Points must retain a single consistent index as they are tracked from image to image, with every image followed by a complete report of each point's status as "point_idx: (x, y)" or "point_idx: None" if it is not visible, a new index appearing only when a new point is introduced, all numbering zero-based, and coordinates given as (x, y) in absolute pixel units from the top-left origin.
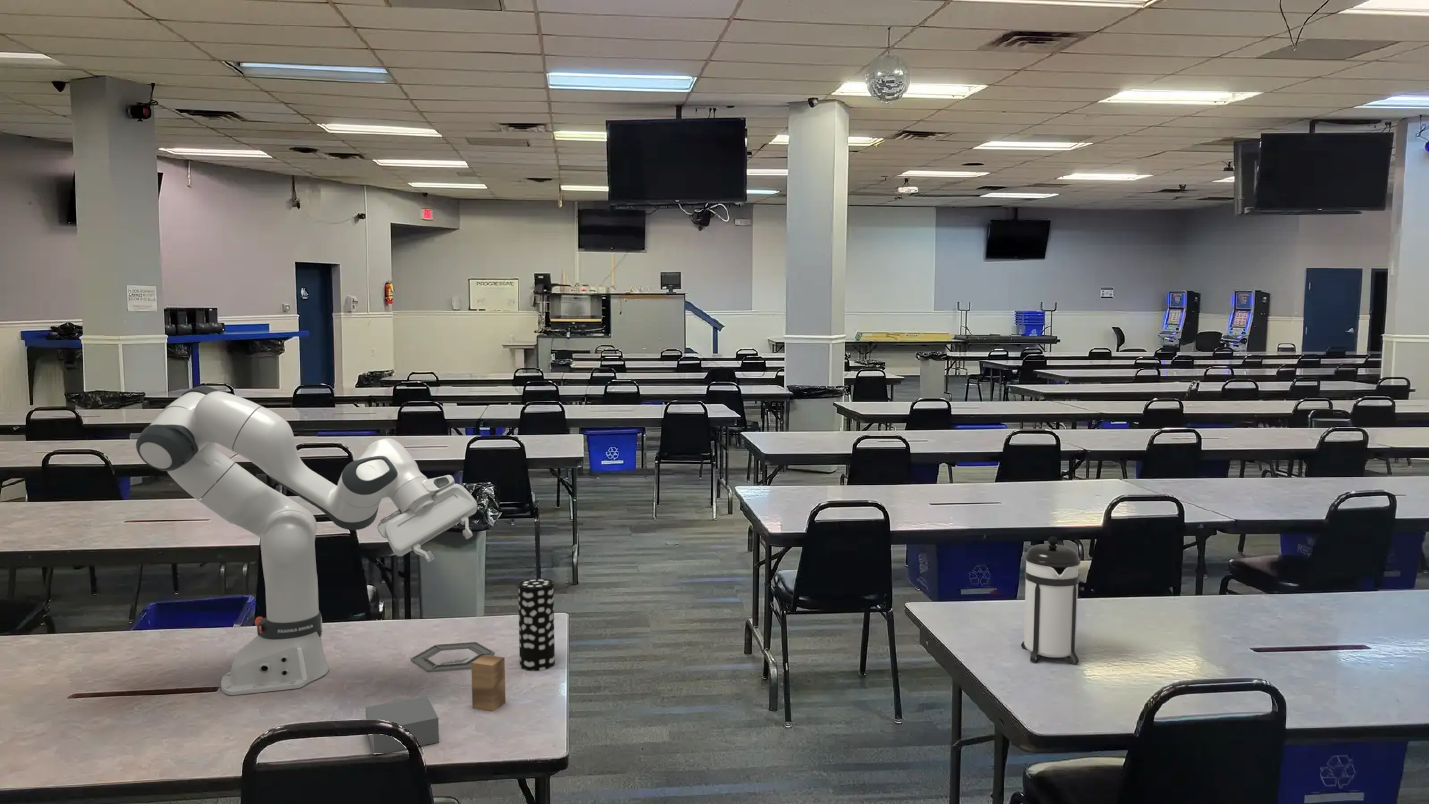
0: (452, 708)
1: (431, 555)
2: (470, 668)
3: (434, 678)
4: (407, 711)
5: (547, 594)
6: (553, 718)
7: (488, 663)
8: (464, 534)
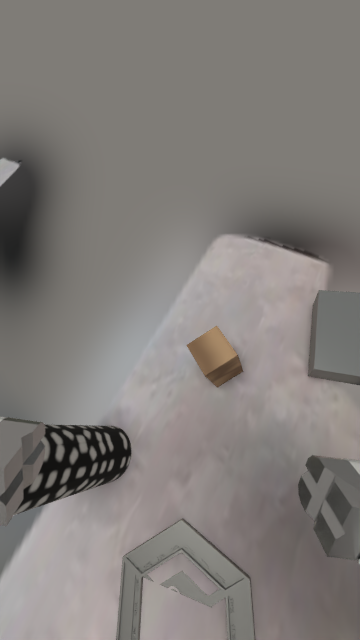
0: (266, 387)
1: (335, 464)
2: (184, 521)
3: (250, 532)
4: (357, 330)
5: None
6: (183, 295)
7: (216, 336)
8: (22, 464)
